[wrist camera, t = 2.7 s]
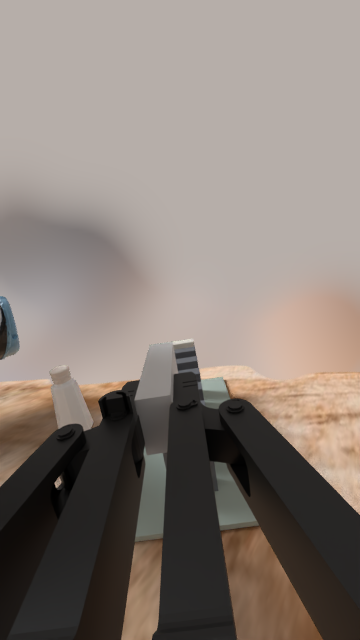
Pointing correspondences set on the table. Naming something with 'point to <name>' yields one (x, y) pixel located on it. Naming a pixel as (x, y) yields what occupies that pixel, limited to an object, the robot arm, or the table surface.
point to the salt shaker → (68, 400)
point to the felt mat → (227, 497)
